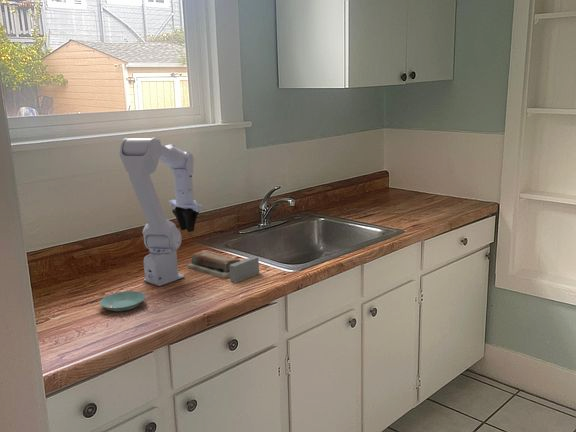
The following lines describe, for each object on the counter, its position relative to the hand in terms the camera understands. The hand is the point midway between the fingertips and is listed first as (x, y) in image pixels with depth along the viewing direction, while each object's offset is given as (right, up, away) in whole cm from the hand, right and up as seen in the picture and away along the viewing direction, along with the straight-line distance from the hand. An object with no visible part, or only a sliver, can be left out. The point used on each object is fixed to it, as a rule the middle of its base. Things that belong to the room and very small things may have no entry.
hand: (187, 230), depth 189 cm
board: (+20, -14, -14) cm, 28 cm away
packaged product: (+10, -12, -6) cm, 17 cm away
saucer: (-11, -20, -33) cm, 40 cm away
